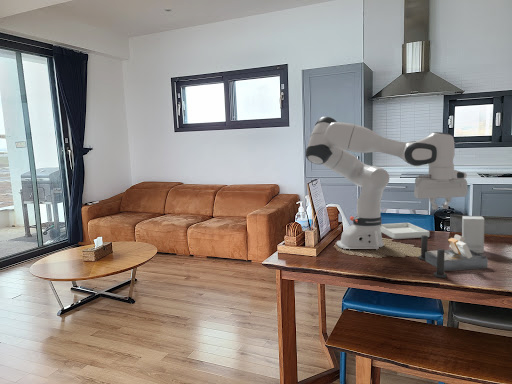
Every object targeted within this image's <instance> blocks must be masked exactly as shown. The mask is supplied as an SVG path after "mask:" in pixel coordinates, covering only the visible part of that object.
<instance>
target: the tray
mask: <svg viewBox="0 0 512 384" xmlns="http://www.w3.org/2000/svg"><path fill="white" fill-rule="evenodd" d="M381 234H384V235H386V236H387V237H390V238H391V239H393V240H402V239H415V238H416V239H417V238H418V239H421V236H422V235H426V236H428V238H430V231H429V230H427V229H424V228H422V227H420V226H417V225H415V224H412V223H410V222H399V223H398V222H397V223H395V222H394V223H382V224H381Z"/></svg>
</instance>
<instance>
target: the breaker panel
mask: <svg viewBox="0 0 512 384" xmlns="http://www.w3.org/2000/svg"><path fill="white" fill-rule="evenodd" d="M444 250H445V254H444V272H453V271H467V270H480V269H482V270H483V269H484V270H485V269H488V263H489V258H488V257H487V256H486V255H484V254H482V253H477V252H474V251H472V250H470V252H471V254H472V257H471V258H469V259H468V258H466V257H463V256H462V255H459V254H457V253H455V252H454V251H453V249H444ZM424 262H426V263H428V264H430V265H432V266H433V267H435V268H437V250H427V251H426V252H425V260H424Z"/></svg>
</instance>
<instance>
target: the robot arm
mask: <svg viewBox="0 0 512 384" xmlns="http://www.w3.org/2000/svg"><path fill="white" fill-rule="evenodd" d="M309 137H310V138H309V141H308V144H307V148H306V149H305V150H306V151H305V157H306V159H307V160H308V161H309V163H312V164H315V165H323V166H324V167H326V168H327V169H329V170H331V171H333V172H335V173H336V174H338V175H340V176H342V177H344V179H346V180H348V181H349V182H350V183H353V184H354V185H355V186H357V187H360V188H361V190H360V194H359V196H358V198H357V200H356V215H355V216H352V215H351V216H350V217H349V220H351V222H352V224H351V225H350V226H348V227H347V228H346V229H344V230H343V231H342V233H341V236H340V240H337V241H336V245H337V247H339V248H340V249H342V248H343V250H346V249H349V250H350V249H376V250H379V249H380V248H383V246H384V242H383V241H384V240H383V237H382V236H383V235H382V232H381V224H383V223H382V220H383V219H382V216H381V208H382V207H381V206H382V205H381V203H382V198H383V194H384V190H385V188H386V187H387V186H388V184H389V182H390V175H389V172H388V171H387V170H386V169H384V168H383V167H381V166H375V165H369V164H366V163H364V162H363V161H361V160H359V158H357V156H356V155H354V154H353V153H358V154H359V153H360V154H367V153H368V154H369V153H383V154H386V155H390V156H394V157H398V158H400V159H402V161H404V162H406V163H407V164H408V165H410V166H412V167H421V166H424V165H425V166H426V165H428V174H419V175H418V176H416V178H415V180H414V183H415V184H414V192H413V196H414V198H416V199H419V200H426V199H428V200H429V202H430V204H431V209H432V210H434V211H435V210H439V205H438V204H436V201H437V199H444V200H445V201H444V203H441V209H443V210H448V209H449V205H450V203H451V201H452V198H465V197H467V195H468V192H469V191H468V181H467V179H466V178H467V173H466V172H464V171H459V170H457V169H455V164H454V163H455V162H454V157H455V151H456V150H455V139H454V136H453V135H452V134H450V133H447V132H441V131H440V132H439V131H433V132H431V133H430V134H429V135H427V136H425V137H423V138H421V139H419V140H414V141H407V142H404V141H399V140H395V139H391V138H386V137H383V136H381V135H379V134H378V133H376V132H375V131H373V130H372V129H370V128H368V127H366V126H363V125H359V124H354V123H349V122H344V121H343V122H340V121H336V119H335V118H333V117H331V116H322V117H320V118H319V119H318V120H317V121H316V122H315V125H314V127H313V130H312V131H311V135H310V136H309ZM351 152H352V153H351ZM379 247H380V248H379ZM350 251H351V250H350Z"/></svg>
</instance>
